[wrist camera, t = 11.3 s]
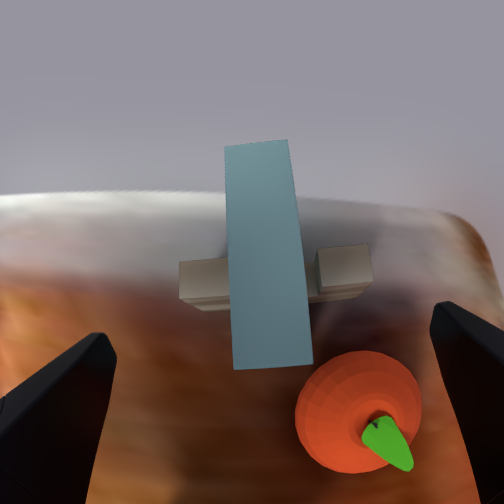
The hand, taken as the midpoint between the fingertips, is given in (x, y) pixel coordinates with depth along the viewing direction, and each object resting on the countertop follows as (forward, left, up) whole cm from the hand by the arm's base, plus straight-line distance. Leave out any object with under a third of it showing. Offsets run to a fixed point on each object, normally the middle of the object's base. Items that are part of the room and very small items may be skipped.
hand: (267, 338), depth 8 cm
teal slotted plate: (+3, -1, -13) cm, 13 cm away
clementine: (-6, -2, -13) cm, 14 cm away
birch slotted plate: (+3, -2, -13) cm, 13 cm away
